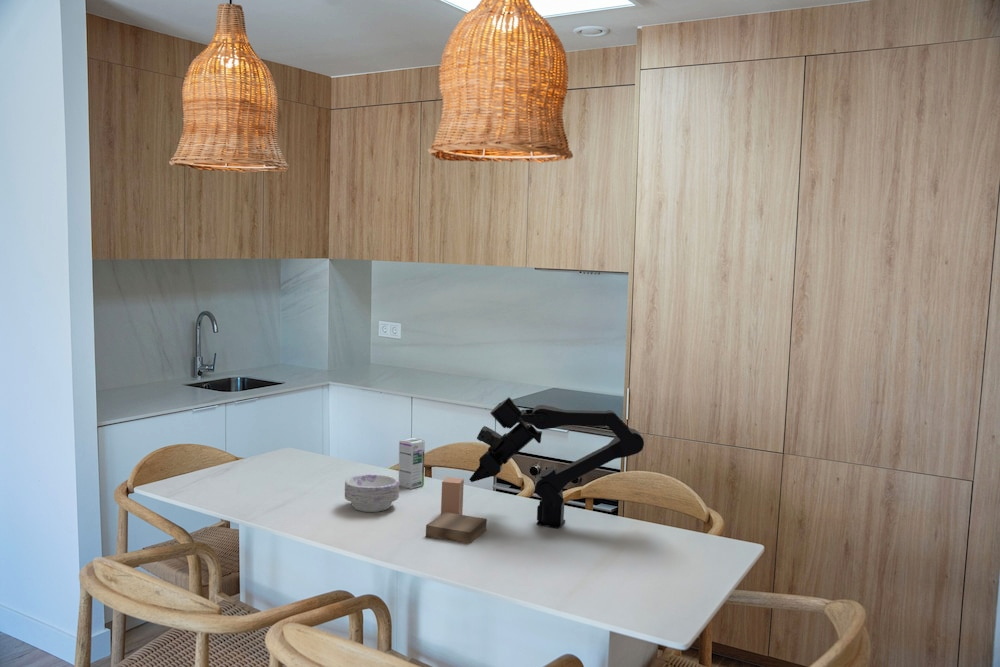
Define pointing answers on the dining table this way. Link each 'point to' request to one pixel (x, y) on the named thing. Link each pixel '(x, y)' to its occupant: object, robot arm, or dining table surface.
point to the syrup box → (411, 463)
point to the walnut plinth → (456, 527)
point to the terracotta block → (452, 495)
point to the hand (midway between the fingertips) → (473, 476)
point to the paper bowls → (371, 492)
